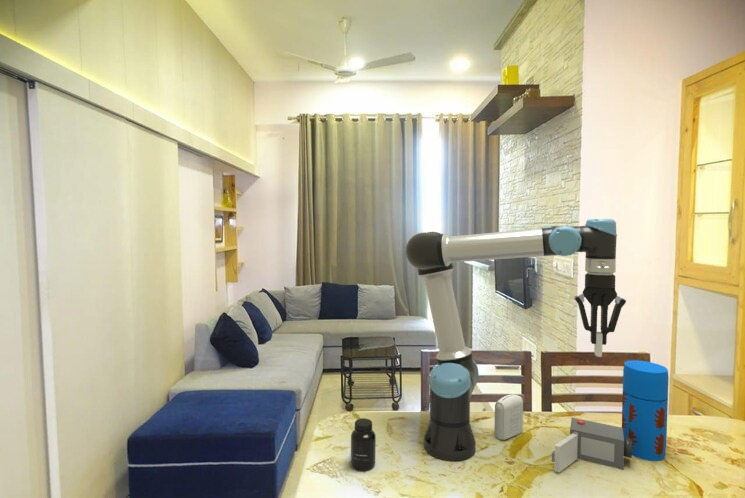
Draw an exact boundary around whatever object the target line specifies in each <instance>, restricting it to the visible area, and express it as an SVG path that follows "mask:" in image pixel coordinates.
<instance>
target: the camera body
mask: <svg viewBox="0 0 745 498" xmlns="http://www.w3.org/2000/svg"><path fill="white" fill-rule="evenodd" d="M573 432H578V460H582V461H586V462H591V463H595V464H598V465H602V466H606V467H610V468H614V469H618V470H622V471H623V470H624V457H626V458H629V459H632V458H633V455H632V438H627V437H624V435H623V428H622V426H621V427H619V426H616V425H612V424H611V425H610V424H608V423H600V422H595V421H592V420H586V419H582V418H576V417H571V420H570V426H569V435H571V434H572V433H573Z"/></svg>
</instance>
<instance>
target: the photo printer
mask: <svg viewBox="0 0 745 498" xmlns="http://www.w3.org/2000/svg"><path fill="white" fill-rule="evenodd" d="M523 400H524V399H523V398H522V397H521V396H520V395H518V394H508V395H505V396H501V398H500V399H498V400H497V401H496V402H495V404H494V435H495V437H496V438H497V439H499V440H502V441H503V440H509V439H510V438H513V437H515V436H517V435H519V434H521V433H523V430H524V429H523V425H524V424H523V423H524V422H523V419H524V417H523V416H524V415H523V414H524V402H523Z"/></svg>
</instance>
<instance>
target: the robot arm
mask: <svg viewBox="0 0 745 498" xmlns="http://www.w3.org/2000/svg"><path fill="white" fill-rule="evenodd" d="M617 236H618V235H617V222H616V221H615V219H613V218H590V219H587V220H586V221H585V224H584V225H580V226H579V225H578V226H577V225H576V226H575V225H574V226H573V225H572V226H571V225H560V226H559V225H557V226H556V225H550V226H543V227H539V228H531V229H530V228H529V229H518V230H508V231H507V230H506V231H498V232H496V231H495V232H486V233H475V234H463V235H453V236H451V235H450V236H449V235H448V234H446V233H441V232H437V231H428V232H418V233H416V234H414V235H413V236H411V238H410V239H409V240H408V241H407V243H406V246H405V256H406V257H405V258H406V260H407V262H409V264H410V265H411V266H412V267H414V268H416V269H417V275H418V277H419V278H421V279H422V280H423V281H424V286H425V290H426V294H427V298H428V304H429V308H430V314H431V319H432V323H433V328H434V331H435V337H436V341H437V347H438V353H437V354H436V357H435V358H436V364H437V365H435V366H434V367H433V368H432V369H431V371H430V374H429V380H428V381H429V382H428V383H429V420H428V423H427V427H426V431H425V433H424V435H423V447H424V449H425V452H427V453H428V454H429V455H431V456H432V457H435V458H438V459H441V460H444V461H447V462H448V461H449V462H450V461H451V462H458V461H465V460H468V459H470V458H472V457H473V456H474V455H475V453H476V450H477V449H476V447H477V443H476V439H475V434H474V432H473V430H472V426H471V423H470V422H471V421H470V420H471V415H470V414H471V397H472V394H473V392H474V390H475V387H476V386H477V384H478V381H479V368H478V365H477V362H476V361H475V360H474V358H473V354H472V350H471V349H470V348H468V347H467V346H466V343H465V338H464V335H463V334H464V333H463V329H462V325H461V319H460V315H459V311H458V306H457V301H456V297H455V291H454V288H453V282H452V278H451V274H452V272H453V271H454V265H453V263H461V262H477V261H490V260H491V261H493V260H504V259H506V260H507V259H518V258H519V259H521V258H534V257H545V256H546V257H549V256H550V257H552V256H562V257H567V256H572V255H574V254H575V253H585V258H584V259H585V263H584V264H585V265H584V271H585V274H584V288H583V290H582V293H581V294H579V295H576V296H574V297H573V298H574V300H575V302H576V303H577V306H578V309H579V313H580V316H581V317H580V318H581V321H582V326H583V328H584V330H585V331H588V332H590V343H591V344H592V345H593V344H594V345H593V346H594V352H593V353H594V354H593V355H594V356H595V357H598V358H599V357H600V358H601V357H603V346H606V345H607V338H608V337H607V335H608V334H609V333H614V332H615V329H616V327H617V324H618V321H619V317H620V314H621V311H622V308H623V307H624V305H626V303H627V300H626V299H624V298H623V297H620V296H619V295H618V293H617V291H616V275H615V274H614V273H616V266H617V264H616V263H617V261H616V259H617ZM585 299H586V301H587V302H588V303H589V304H590V324H589V319H588V316H587V312H586V307H585V304H584V303H585ZM613 301H614V306H613V309H612V313H611V316H610V319H609V322H608V311H609V306H610V305H611V303H612V302H613ZM598 307H600V331H598V309H599V308H598Z"/></svg>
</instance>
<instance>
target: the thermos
mask: <svg viewBox="0 0 745 498" xmlns="http://www.w3.org/2000/svg"><path fill="white" fill-rule="evenodd" d="M622 372H623V373H622V374H623V375H622V400H621V401H622V403H621V406H622V407H621V428H623V435H624V437H627V438H632V457H635V458H637V459H640V460H644V461H648V462H649V461H650V462H661V461H663V460H664V459H665V458H666V451H667V435H668V434H667V433H668V407H669V405H668V404H669V403H668V402H669V379H670V378H669V369H668V368H667V367H666V366H664V365H661V364H658V363H655V362H652V361H651V362H650V361H647V360H646V361H644V360H634V359H633V360H627V361H624V364H623V371H622Z"/></svg>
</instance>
